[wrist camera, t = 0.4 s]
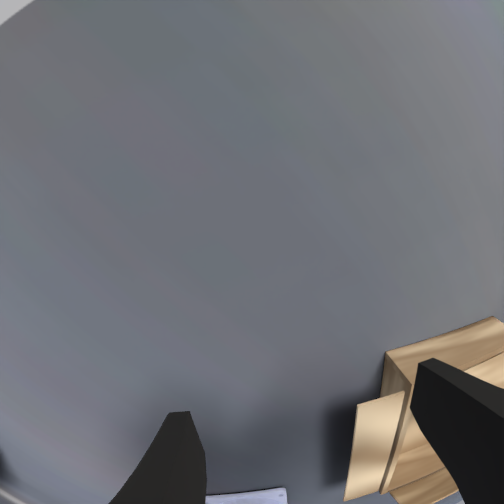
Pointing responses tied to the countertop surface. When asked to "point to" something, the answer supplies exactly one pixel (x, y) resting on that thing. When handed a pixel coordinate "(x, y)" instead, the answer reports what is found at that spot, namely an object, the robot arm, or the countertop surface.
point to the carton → (399, 414)
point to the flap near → (490, 371)
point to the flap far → (426, 489)
